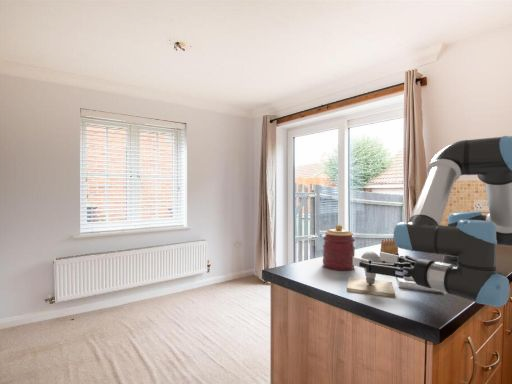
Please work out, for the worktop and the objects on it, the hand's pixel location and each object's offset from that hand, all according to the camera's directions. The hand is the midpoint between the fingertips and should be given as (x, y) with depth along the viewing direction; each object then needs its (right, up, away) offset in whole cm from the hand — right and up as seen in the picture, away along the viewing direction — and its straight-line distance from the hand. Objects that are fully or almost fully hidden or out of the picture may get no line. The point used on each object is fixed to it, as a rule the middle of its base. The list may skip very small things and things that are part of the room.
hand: (367, 258), depth 97 cm
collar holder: (+18, -10, +3) cm, 21 cm away
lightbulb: (+1, -9, -1) cm, 9 cm away
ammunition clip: (+19, -10, +26) cm, 34 cm away
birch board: (+1, -10, -1) cm, 10 cm away
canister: (-3, -9, +25) cm, 27 cm away
